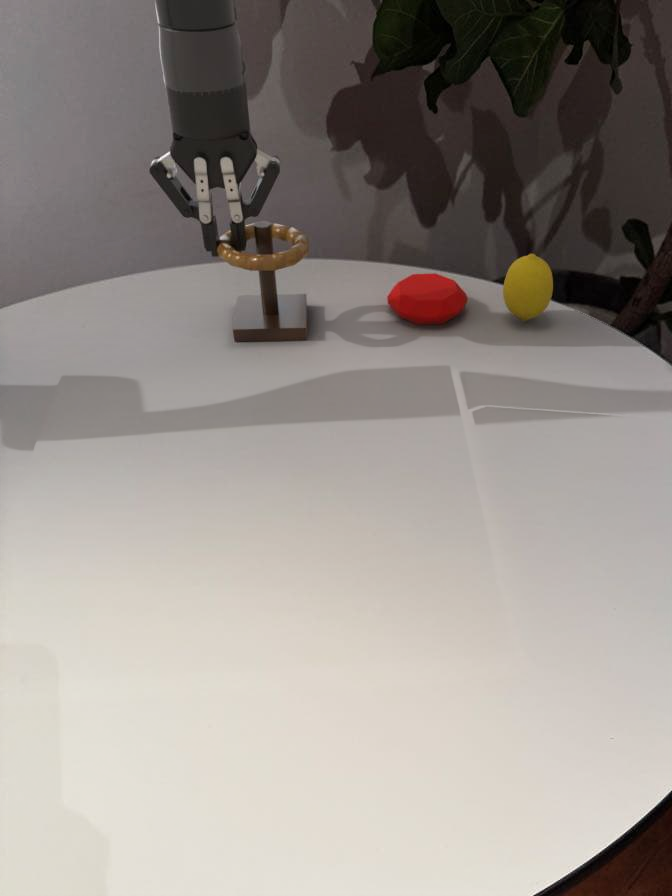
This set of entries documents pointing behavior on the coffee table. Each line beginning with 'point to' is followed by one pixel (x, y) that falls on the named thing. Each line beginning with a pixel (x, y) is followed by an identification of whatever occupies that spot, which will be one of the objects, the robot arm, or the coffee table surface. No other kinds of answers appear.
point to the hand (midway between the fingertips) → (227, 252)
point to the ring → (268, 260)
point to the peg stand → (269, 304)
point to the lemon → (528, 287)
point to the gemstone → (427, 298)
